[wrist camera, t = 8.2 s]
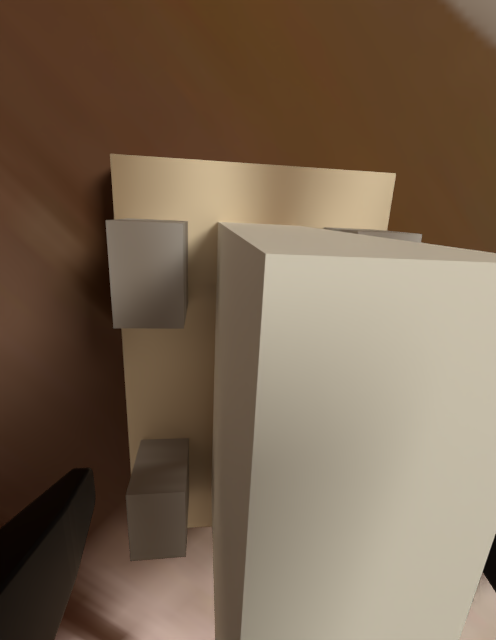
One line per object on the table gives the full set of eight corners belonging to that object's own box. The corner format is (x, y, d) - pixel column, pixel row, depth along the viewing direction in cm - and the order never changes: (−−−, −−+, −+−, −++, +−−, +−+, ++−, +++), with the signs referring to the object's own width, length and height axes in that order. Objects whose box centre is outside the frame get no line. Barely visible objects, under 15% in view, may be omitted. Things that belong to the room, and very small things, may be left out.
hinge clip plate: (376, 177, 14) (452, 162, 10) (330, 494, 19) (367, 578, 14) (120, 160, 13) (77, 134, 8) (140, 505, 17) (119, 601, 13)
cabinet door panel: (299, 225, 13) (586, 266, 3) (275, 488, 16) (376, 881, 7) (217, 221, 12) (265, 252, 3) (211, 492, 16) (222, 915, 6)
